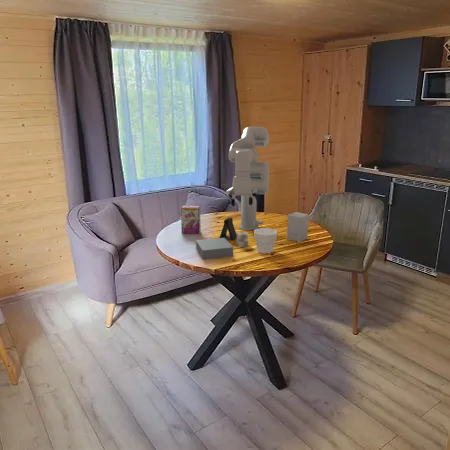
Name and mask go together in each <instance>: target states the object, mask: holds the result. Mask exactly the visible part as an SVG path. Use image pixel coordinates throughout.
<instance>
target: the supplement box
mask: <svg viewBox="0 0 450 450" xmlns="http://www.w3.org/2000/svg"><path fill="white" fill-rule="evenodd" d="M309 217H310V215H309V214H307V213H303V212H298V211H294V212H292V213H289V214H287V226H286V227H287V228H286V240H288V239H290V240H289V241H292V240H293V241H292V242H296V241H297V243H301V242H304V241H306V240H308V235H309V220H310V218H309ZM305 239H306V240H305ZM303 240H304V241H303Z"/></svg>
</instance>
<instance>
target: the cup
mask: <svg viewBox="0 0 450 450" xmlns="http://www.w3.org/2000/svg"><path fill="white" fill-rule="evenodd" d="M253 233H254V234H253V235H254V240H255V242H256V251H257V253H259V254H263V253H264V254H265V253H268V254H272V253H273V252H274V247H275V242H276V240H277V235H278V231H277V229H274V228H270V227H261V228H259V227H258V229H255V230H253ZM271 252H272V253H271ZM265 255H266V254H265Z"/></svg>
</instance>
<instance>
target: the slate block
mask: <svg viewBox="0 0 450 450" xmlns="http://www.w3.org/2000/svg"><path fill="white" fill-rule="evenodd" d="M229 242H230V241H229V240H227V239H225V238H219V237H217V238H208V239H207V238H206V239H197V240H195V249H196V251H197V253H198V254H199V256H200V258H201V259H202V260H211V259H221V258H231V257H233V256H234V247H233V246H232V244H231V243H229Z"/></svg>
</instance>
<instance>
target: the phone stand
mask: <svg viewBox="0 0 450 450" xmlns="http://www.w3.org/2000/svg"><path fill="white" fill-rule="evenodd" d="M233 220H234V219H233V217H230V216H229V217H227V218H225V219H224V220H223V226H222V229H221V233H220V235H219V237H218V238H225V239H226V240H227V241H235V240H237V231H236V228H235V225H234V223H233ZM227 234H229V235H227Z"/></svg>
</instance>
